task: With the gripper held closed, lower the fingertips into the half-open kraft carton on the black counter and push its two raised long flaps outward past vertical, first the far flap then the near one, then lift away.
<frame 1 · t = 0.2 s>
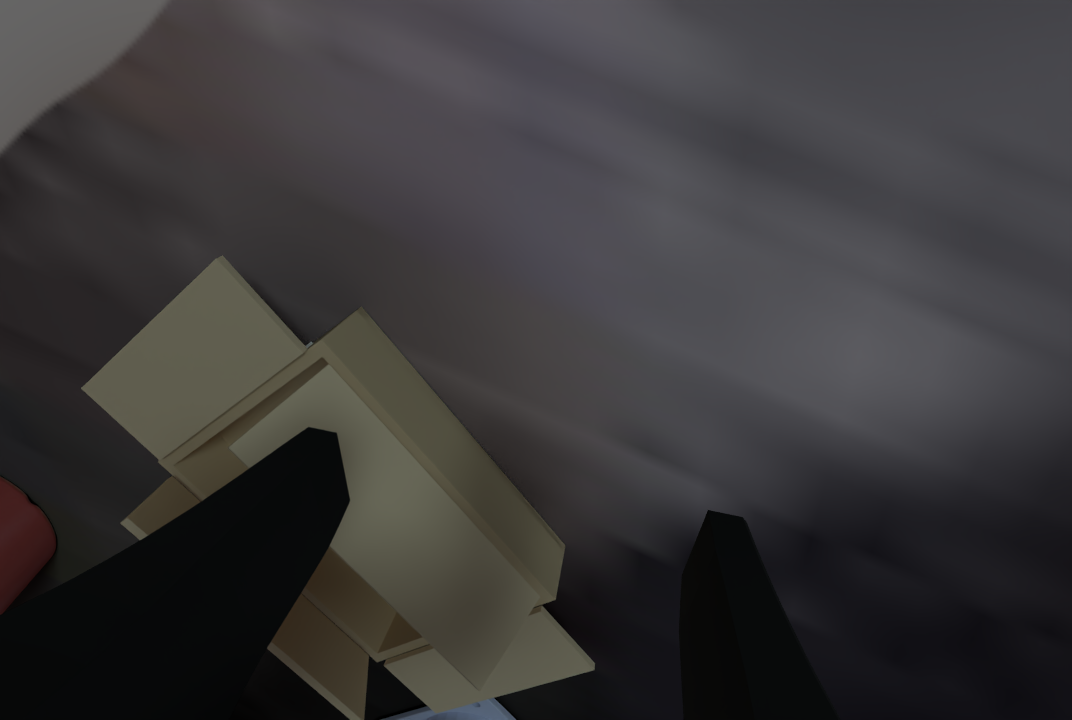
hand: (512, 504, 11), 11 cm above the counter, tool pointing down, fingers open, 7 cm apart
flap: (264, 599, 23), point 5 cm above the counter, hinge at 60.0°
flower pot: (2, 511, 33), on the counter
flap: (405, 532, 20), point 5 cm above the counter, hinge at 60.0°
carton: (384, 483, 26), on the counter
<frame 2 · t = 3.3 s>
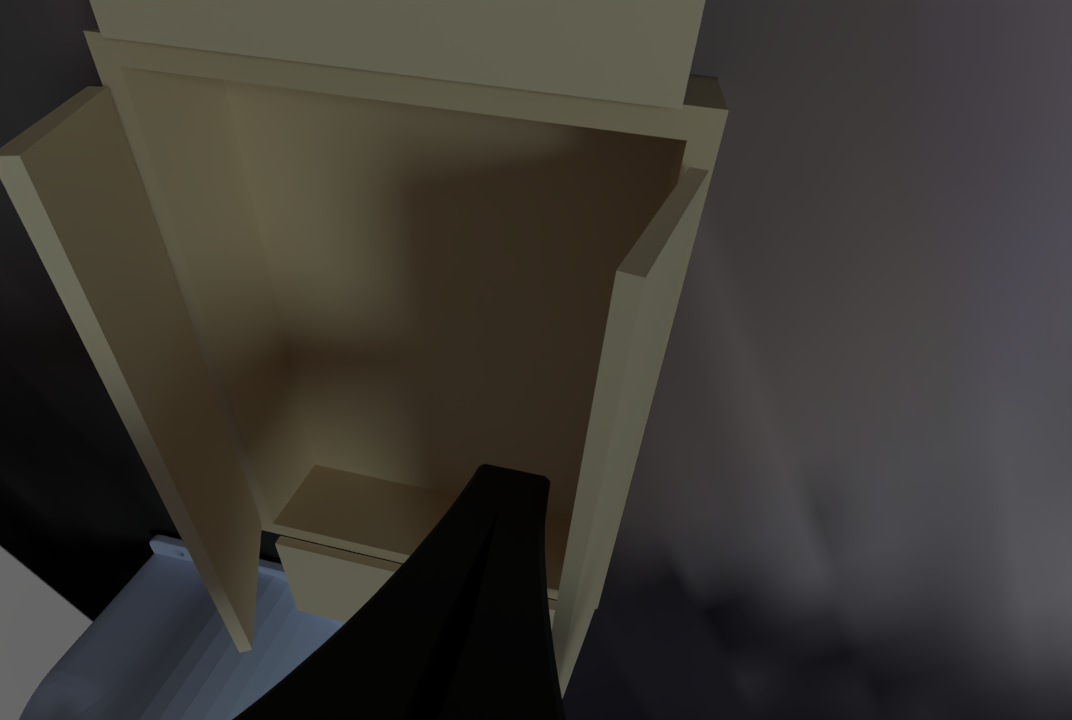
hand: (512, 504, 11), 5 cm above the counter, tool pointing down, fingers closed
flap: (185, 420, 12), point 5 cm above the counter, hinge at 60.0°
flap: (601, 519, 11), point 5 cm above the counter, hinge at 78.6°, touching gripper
carton: (450, 330, 15), on the counter
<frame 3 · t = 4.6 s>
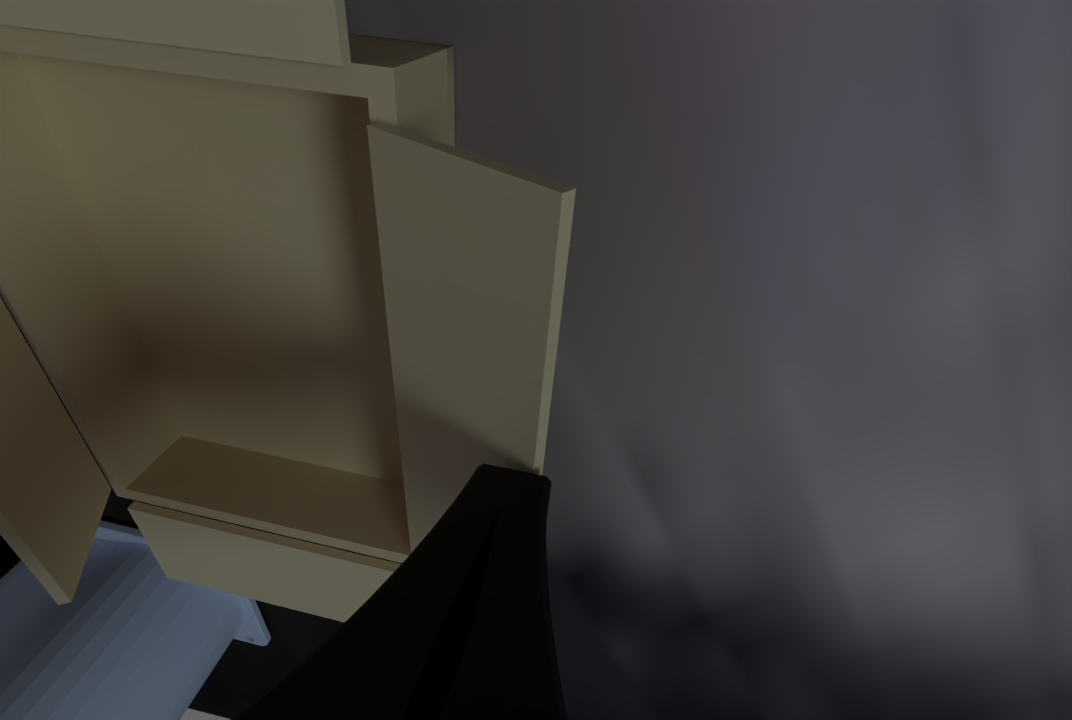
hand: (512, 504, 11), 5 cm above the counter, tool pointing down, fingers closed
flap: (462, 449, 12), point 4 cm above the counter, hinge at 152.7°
carton: (276, 299, 16), on the counter
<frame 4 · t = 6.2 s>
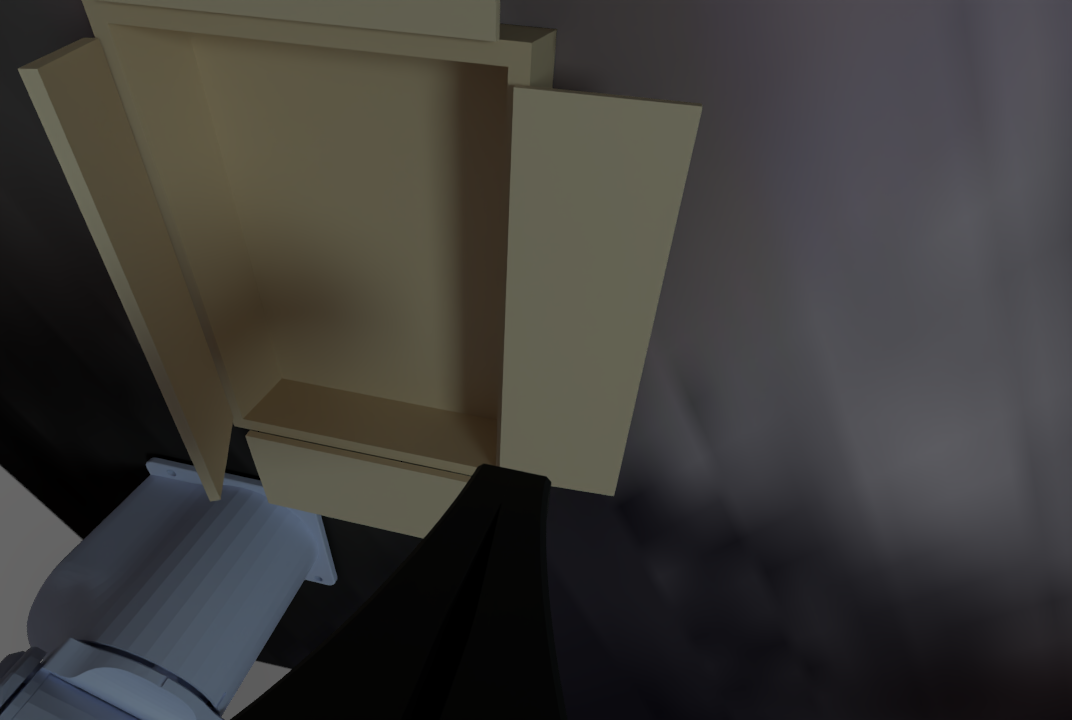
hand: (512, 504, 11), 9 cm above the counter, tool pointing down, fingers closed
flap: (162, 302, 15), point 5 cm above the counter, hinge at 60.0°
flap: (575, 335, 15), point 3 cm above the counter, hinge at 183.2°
carton: (382, 249, 19), on the counter
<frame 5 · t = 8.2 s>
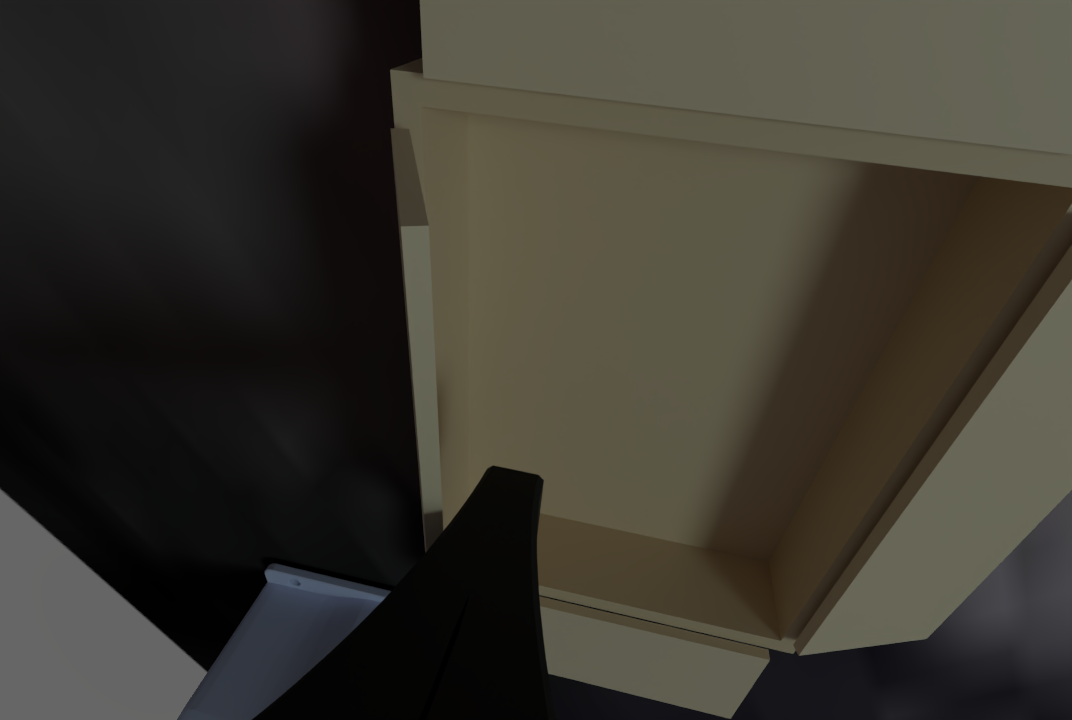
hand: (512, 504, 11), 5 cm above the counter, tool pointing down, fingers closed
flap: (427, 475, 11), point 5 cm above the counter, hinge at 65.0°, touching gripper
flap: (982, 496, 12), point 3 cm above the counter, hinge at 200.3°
carton: (652, 366, 15), on the counter
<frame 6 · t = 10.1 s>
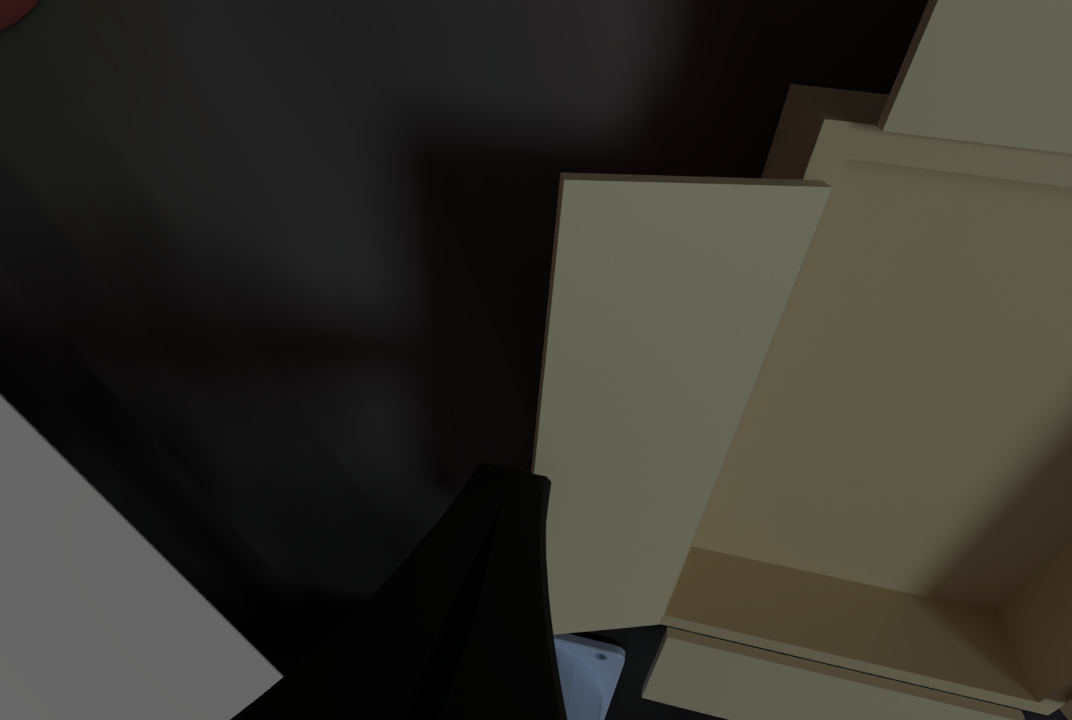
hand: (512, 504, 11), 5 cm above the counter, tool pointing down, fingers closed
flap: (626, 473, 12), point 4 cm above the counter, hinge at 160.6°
carton: (919, 414, 14), on the counter
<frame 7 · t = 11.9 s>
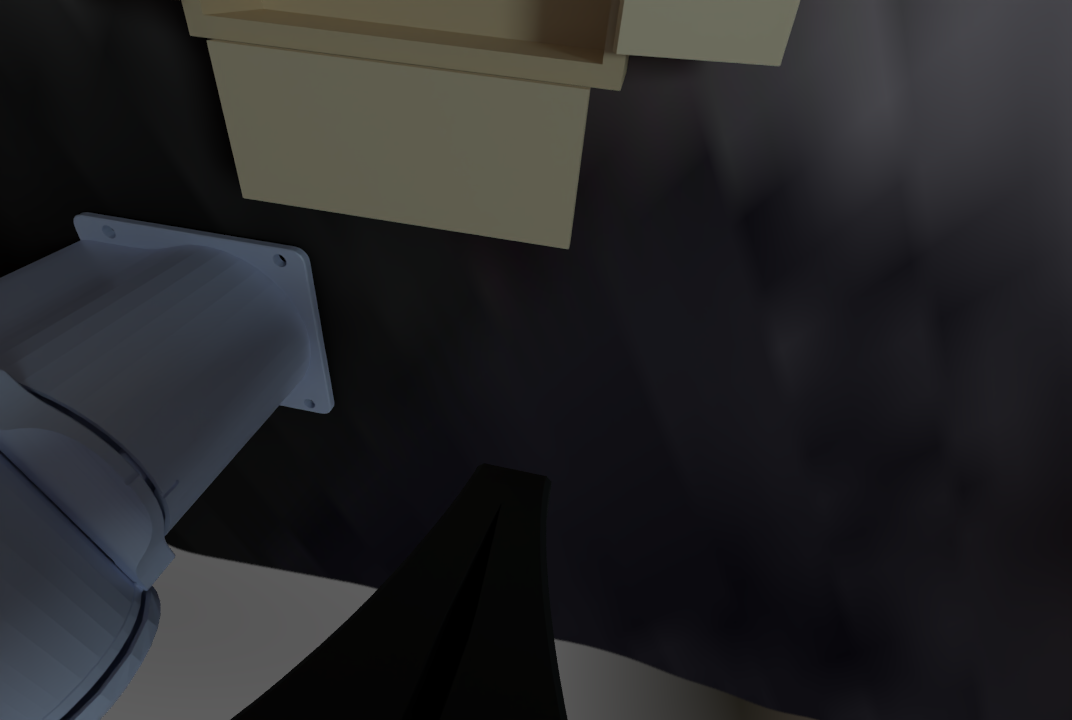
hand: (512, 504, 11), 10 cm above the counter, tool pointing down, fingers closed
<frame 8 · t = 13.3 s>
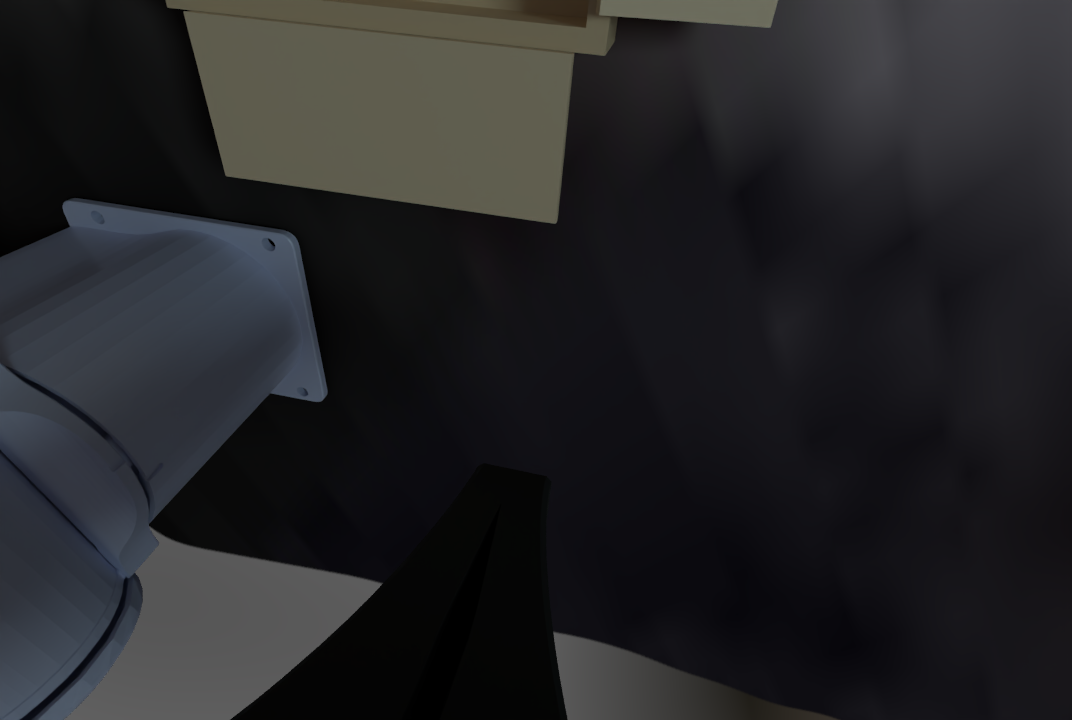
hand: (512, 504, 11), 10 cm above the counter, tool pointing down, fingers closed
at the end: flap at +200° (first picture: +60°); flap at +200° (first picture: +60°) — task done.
